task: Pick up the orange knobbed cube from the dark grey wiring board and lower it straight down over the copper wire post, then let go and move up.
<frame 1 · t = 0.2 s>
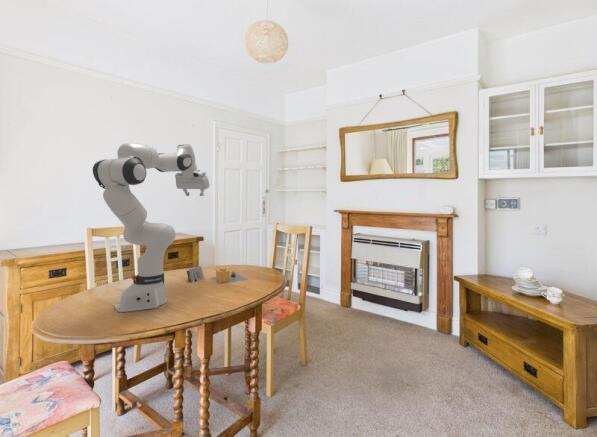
hand: (194, 195, 186), 52 cm above the table, tool tilted 20°, fingers open, 8 cm apart
electrical switch: (195, 282, 189), on the table
wiring board: (229, 281, 192), on the table
orange knobbed cube: (222, 281, 187), point 1 cm above the table, touching wiring board
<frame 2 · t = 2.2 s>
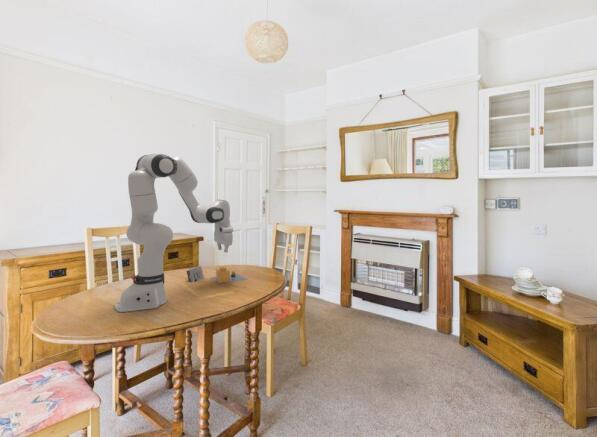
hand: (222, 251, 186), 19 cm above the table, tool pointing down, fingers open, 8 cm apart
nothing on the table moved.
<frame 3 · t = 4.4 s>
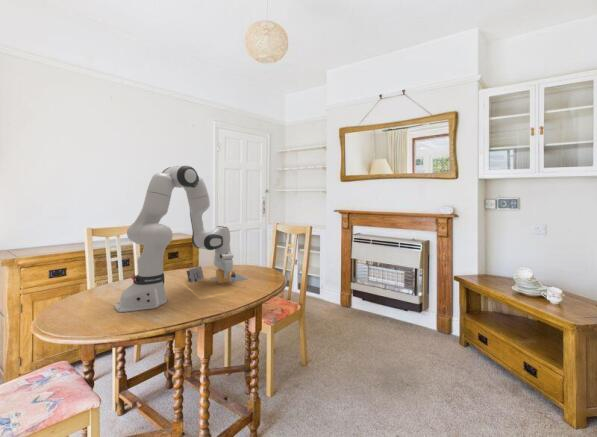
hand: (222, 276, 187), 4 cm above the table, tool pointing down, fingers closed on orange knobbed cube, 6 cm apart
orange knobbed cube: (222, 281, 187), point 1 cm above the table, touching gripper, wiring board
everything else where it was.
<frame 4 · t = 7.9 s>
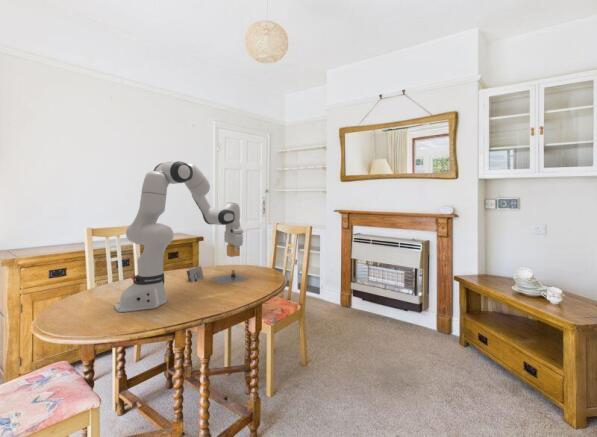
hand: (233, 251, 196), 17 cm above the table, tool pointing down, fingers closed on orange knobbed cube, 6 cm apart
orange knobbed cube: (233, 255, 196), point 15 cm above the table, touching gripper
everything else where it was.
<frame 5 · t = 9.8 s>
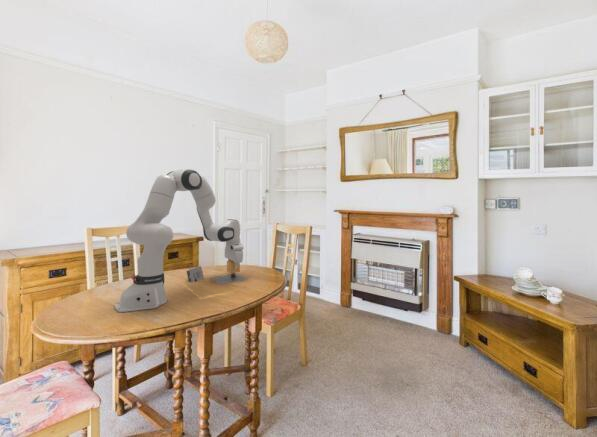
hand: (233, 267, 196), 7 cm above the table, tool pointing down, fingers closed on orange knobbed cube, 6 cm apart
orange knobbed cube: (233, 271, 197), point 5 cm above the table, touching gripper
everything else where it was.
when the fingers open (6 cm above the table, at t = 11.3 s): orange knobbed cube drops 1 cm, resting on wiring board.
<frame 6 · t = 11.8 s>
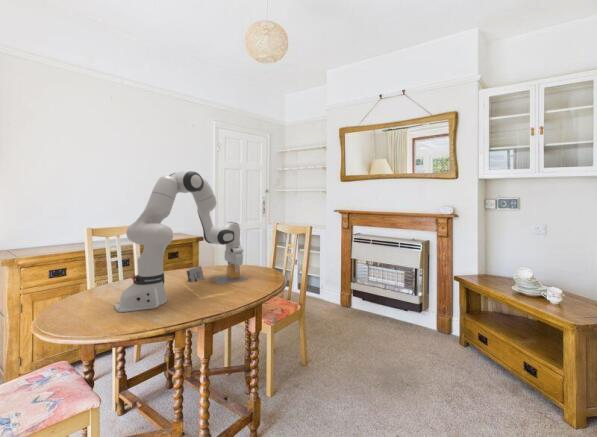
hand: (233, 270, 197), 6 cm above the table, tool pointing down, fingers open, 8 cm apart
orange knobbed cube: (233, 276, 197), point 1 cm above the table, touching wiring board
everything else where it was.
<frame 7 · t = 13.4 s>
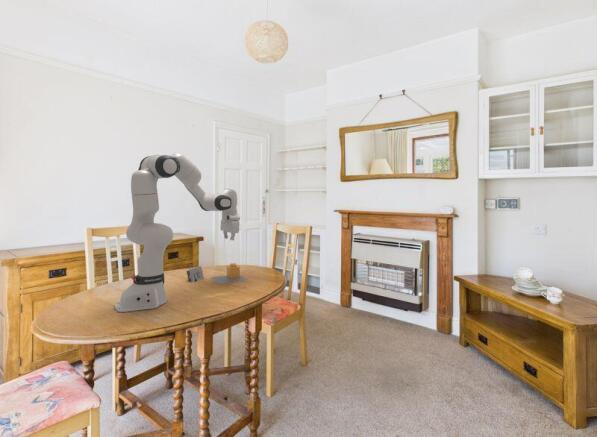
hand: (229, 239, 190), 26 cm above the table, tool pointing down, fingers open, 8 cm apart
nothing on the table moved.
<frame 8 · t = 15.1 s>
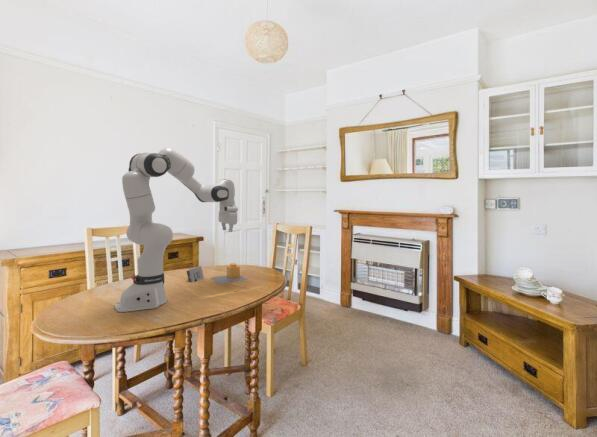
hand: (227, 231, 186), 31 cm above the table, tool pointing down, fingers open, 8 cm apart
nothing on the table moved.
at the end: orange knobbed cube 0.0 cm from the target spot, point 1.5 cm above the table; orange knobbed cube tilted 0°; the gripper is holding nothing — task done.
